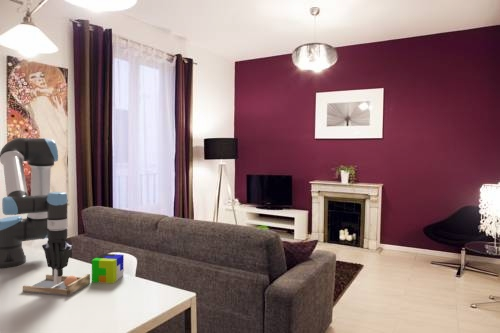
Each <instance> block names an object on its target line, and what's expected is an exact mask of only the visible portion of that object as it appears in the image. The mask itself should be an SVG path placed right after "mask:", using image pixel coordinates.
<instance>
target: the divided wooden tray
mask: <svg viewBox="0 0 500 333" xmlns="http://www.w3.org/2000/svg"><path fill="white" fill-rule="evenodd" d="M68 276H69V275H62V276H61V280H62V281H65V279H66V278H67V277H68ZM75 277H76V278H77V280H76V281H75V282H73V283H71V284H69V285H68V286H67V289H58V288H46V287H35V286H33V285H22V292H23V291H33V292H44V293H55V294H66V295H70V294H71V293H73V292H75V291H76V290H78V289H79V288H81V287H83V286H84V285H86V284H88V283H89V282H90V283H91V273H87V274H85V275H83V276H81V277H80V276H75ZM45 279H51V280H54V276H53V275H52V274H46V275H45ZM88 285H89V284H88ZM83 288H84V287H83ZM78 291H79V290H78ZM75 293H76V292H75ZM70 296H71V295H70Z"/></svg>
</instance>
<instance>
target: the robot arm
mask: <svg viewBox="0 0 500 333" xmlns="http://www.w3.org/2000/svg"><path fill="white" fill-rule="evenodd" d="M58 151H59V150H58V146H57V143H56V141H55V140H54V139H52V138H44V137H43V138H42V137H41V138H39V137H37V138H35V137H33V138H32V137H18V138H17V137H16V138H13V139H11V140H10V141H8V142H6V143H5V145H3V147H2V148H1V149H0V163H1V165H2V167H3V175H4V182H5V191H6V196H5V197H3V198H2V199H1V200H2V201H1V205H2V206H1V208H2V209H1V210H2V213H3V215H5V216H7V217H4V218H1V219H0V269H3V268H11V267H16V266H21V265H22V264H25V263H27V262H26V261H27V257H26V256H27V255H25V252H24V248H23V242H26V241H27V242H28V241H36V240H38V241H39V240H45V239H48V240H47V242H46V243H45V244H43V245H41V248H42V249H43V251H44V256H45V260H46V264H47V267H48V268H51V269H52V270H51V271H52V272H51V273H52V274H51V275H53V276H54V285H58V284H59V283H61V276H64V274H63V273H64V272H63V271H64V268H66V267H67V266H68V264H69V260H70V254H71V250H73V247H74V246H73V245H72V244H69V243H68V242H69V241H68V202H69V199H68V194H67V192H64V191H53V192H51V172H52V171H51V169H52V168H53V166H55V162H58V161H59V152H58ZM24 162H27V165H28V166H29V167H30V168H31V169H30V170H31V171H30V172H31V175H30V176H31V179H30V195H29V194H28V188H27V182H26V177H25V176H26V175H25V171H24V170H25V169H24V164H23V163H24ZM21 215H26V218H23V217H22V216H21Z"/></svg>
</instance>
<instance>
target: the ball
mask: <svg viewBox="0 0 500 333" xmlns="http://www.w3.org/2000/svg"><path fill="white" fill-rule="evenodd" d="M67 276H68V277H67V278H66V279H65V281H64V284H65V286H66V287H67V286H68V285H69V284H71V283H73V282H75V281H76V280H77V278H76V277H77V276H75V275H67Z"/></svg>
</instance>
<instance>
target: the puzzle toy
mask: <svg viewBox="0 0 500 333" xmlns="http://www.w3.org/2000/svg"><path fill="white" fill-rule="evenodd" d="M124 256H125V255H124V254H116V253H114V254H113V253H112V254H111V253H102V254H100V255H99V256H97V257H95V258H93V259H92V260H91V283H101V284H103V283H104V284H114V283H116V282H117V281H118V280H120V279H121V278H122V277H123V276H124ZM115 281H116V282H115Z"/></svg>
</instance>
